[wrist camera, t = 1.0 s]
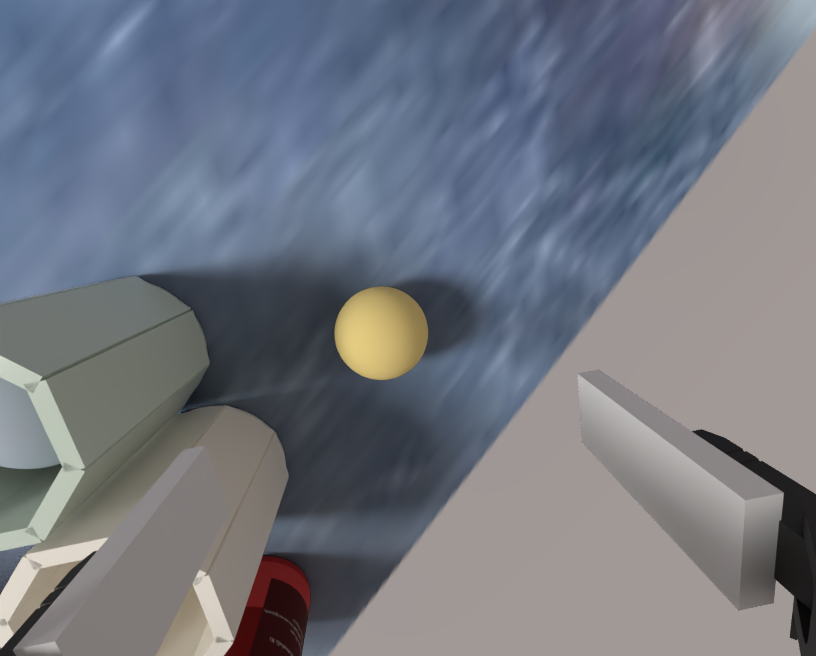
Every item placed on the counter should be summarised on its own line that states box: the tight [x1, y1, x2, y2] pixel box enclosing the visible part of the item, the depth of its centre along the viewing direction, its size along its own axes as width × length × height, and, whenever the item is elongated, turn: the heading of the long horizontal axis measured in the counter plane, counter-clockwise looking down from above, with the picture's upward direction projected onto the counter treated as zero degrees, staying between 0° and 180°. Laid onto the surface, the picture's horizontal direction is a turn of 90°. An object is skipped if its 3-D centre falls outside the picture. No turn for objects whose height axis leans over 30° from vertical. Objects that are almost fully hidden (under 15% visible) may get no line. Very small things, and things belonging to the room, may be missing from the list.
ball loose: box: [335, 286, 428, 380], centre depth 26 cm, size 6×6×6 cm
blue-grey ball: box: [0, 377, 61, 469], centre depth 19 cm, size 6×6×6 cm
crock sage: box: [0, 276, 210, 551], centre depth 21 cm, size 10×10×13 cm
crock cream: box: [0, 405, 289, 656], centre depth 24 cm, size 10×10×13 cm
